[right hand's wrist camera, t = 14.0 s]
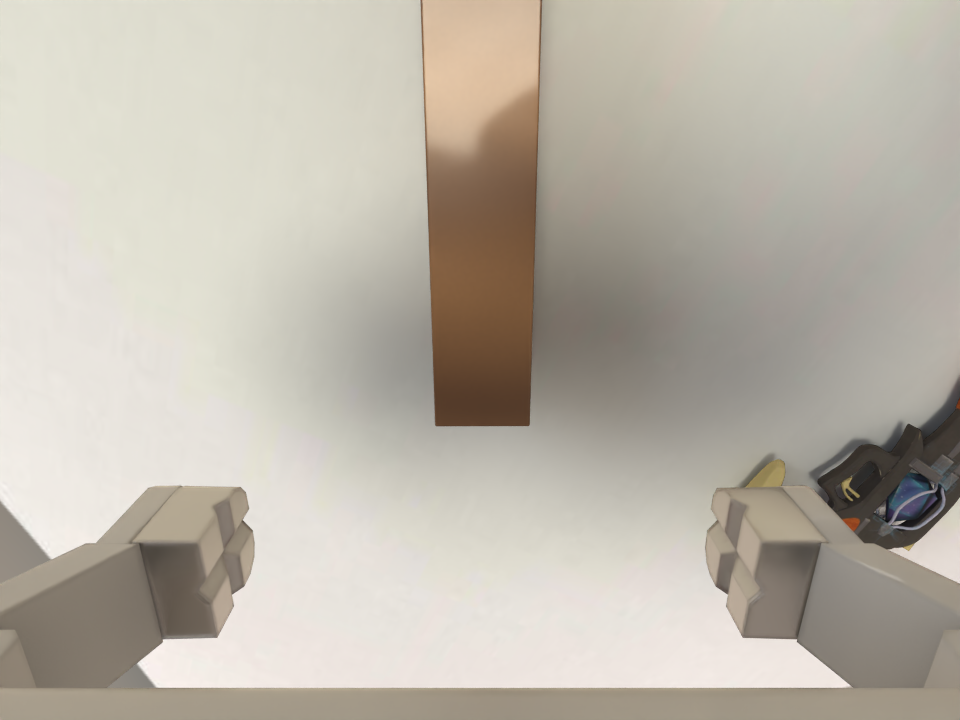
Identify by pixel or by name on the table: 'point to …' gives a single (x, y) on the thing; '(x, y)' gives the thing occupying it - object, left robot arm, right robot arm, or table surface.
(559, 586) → the table surface
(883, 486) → the toy gun
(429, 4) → the beam
